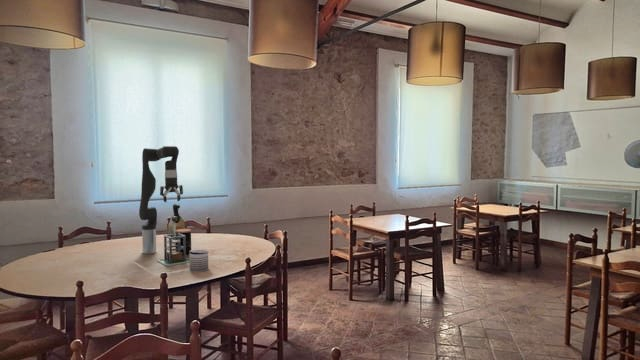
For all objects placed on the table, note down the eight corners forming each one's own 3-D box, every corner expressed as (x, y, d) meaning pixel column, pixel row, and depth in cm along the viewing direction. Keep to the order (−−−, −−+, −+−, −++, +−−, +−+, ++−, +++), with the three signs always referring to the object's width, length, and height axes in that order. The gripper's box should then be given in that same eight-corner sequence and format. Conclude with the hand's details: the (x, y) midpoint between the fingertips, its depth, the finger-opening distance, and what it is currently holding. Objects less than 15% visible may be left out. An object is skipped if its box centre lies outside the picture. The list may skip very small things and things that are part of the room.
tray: (157, 262, 285) (157, 259, 285) (183, 258, 297) (183, 255, 296) (165, 267, 273) (165, 264, 273) (193, 263, 284) (193, 260, 284)
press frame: (163, 260, 285) (163, 235, 284) (180, 258, 292) (179, 233, 291) (169, 264, 277) (169, 237, 276) (186, 261, 284) (186, 235, 283)
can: (185, 269, 269) (185, 250, 268) (201, 265, 278) (201, 247, 277) (196, 273, 262) (196, 253, 261) (212, 269, 271) (212, 250, 270)
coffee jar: (186, 257, 298) (186, 231, 297) (172, 256, 300) (172, 231, 299) (194, 254, 309) (193, 229, 308) (180, 253, 311) (180, 228, 310)
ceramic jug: (170, 238, 363) (169, 202, 361) (188, 237, 365) (188, 202, 363) (165, 242, 346) (164, 205, 344) (184, 242, 348) (184, 205, 346)
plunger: (167, 241, 284) (167, 216, 283) (177, 240, 288) (177, 215, 287) (171, 243, 279) (171, 218, 278) (181, 241, 283) (181, 217, 282)
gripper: (179, 176, 289) (180, 200, 290) (158, 177, 280) (159, 202, 281) (184, 176, 283) (184, 201, 284) (162, 177, 274) (163, 202, 275)
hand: (172, 201), depth 283 cm, fingers open, 8 cm apart
